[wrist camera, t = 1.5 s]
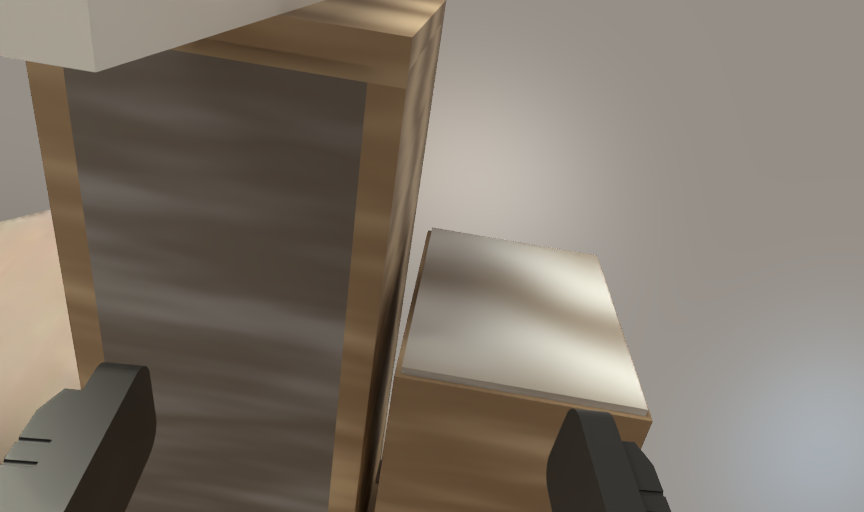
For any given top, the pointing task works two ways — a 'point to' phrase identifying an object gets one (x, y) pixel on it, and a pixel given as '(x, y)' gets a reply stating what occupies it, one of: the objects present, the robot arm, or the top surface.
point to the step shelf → (313, 277)
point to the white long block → (120, 27)
